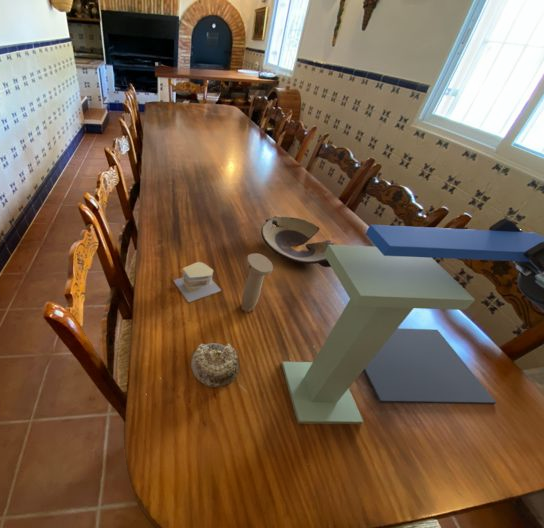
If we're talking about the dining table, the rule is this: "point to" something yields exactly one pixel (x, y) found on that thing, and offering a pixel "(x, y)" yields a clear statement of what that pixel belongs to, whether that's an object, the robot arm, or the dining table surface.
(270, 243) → the broken bowl
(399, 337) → the mat
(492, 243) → the blue flat bar
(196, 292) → the stacked layers on plate
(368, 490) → the dining table surface
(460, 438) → the dining table surface
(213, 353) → the grey speckled round piece
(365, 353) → the stand
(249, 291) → the handle
